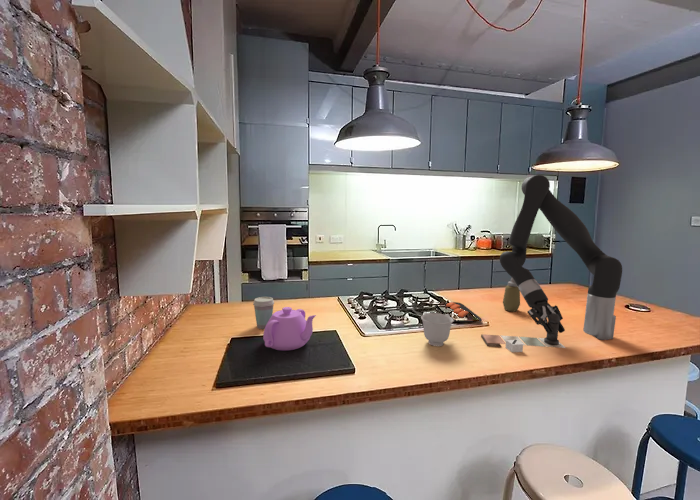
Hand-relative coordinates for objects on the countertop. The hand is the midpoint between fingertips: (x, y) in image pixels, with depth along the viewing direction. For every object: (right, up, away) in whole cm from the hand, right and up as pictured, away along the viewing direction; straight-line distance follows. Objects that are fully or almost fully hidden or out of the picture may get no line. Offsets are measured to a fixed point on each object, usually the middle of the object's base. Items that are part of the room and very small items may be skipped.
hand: (557, 332), depth 127 cm
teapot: (-99, -5, -1) cm, 99 cm away
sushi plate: (-33, -1, +39) cm, 51 cm away
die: (-18, -6, -4) cm, 20 cm away
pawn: (-1, -4, +2) cm, 5 cm away
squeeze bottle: (+4, 0, +46) cm, 46 cm away
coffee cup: (-113, -2, +17) cm, 115 cm away
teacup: (-43, -5, +4) cm, 44 cm away
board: (-11, -5, +4) cm, 13 cm away
